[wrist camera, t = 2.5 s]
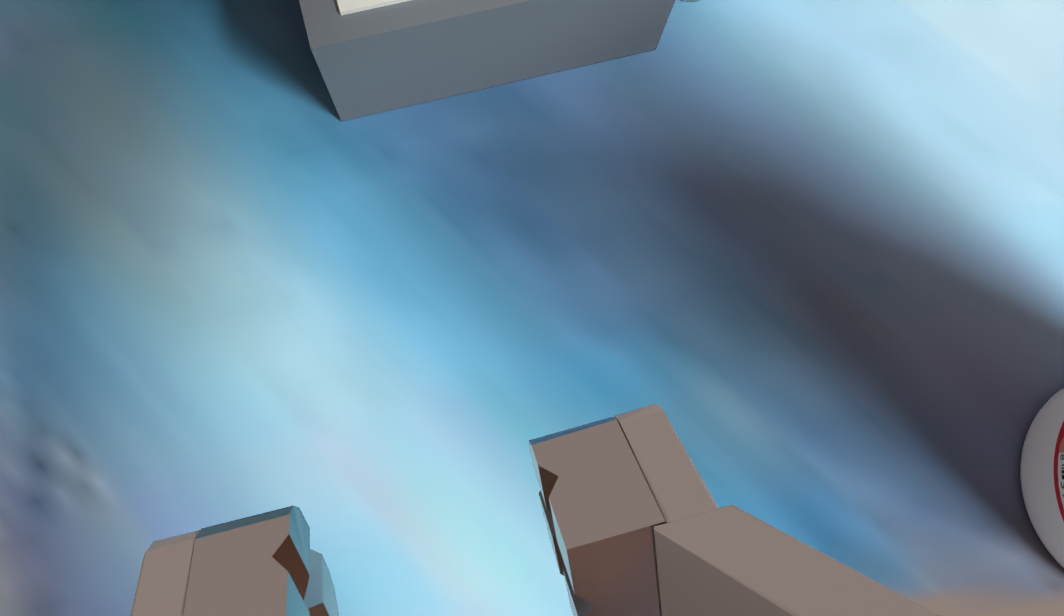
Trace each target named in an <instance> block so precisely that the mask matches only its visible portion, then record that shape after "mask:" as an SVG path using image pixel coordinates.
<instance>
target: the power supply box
mask: <svg viewBox="0 0 1064 616" xmlns="http://www.w3.org/2000/svg"><path fill="white" fill-rule="evenodd" d="M682 1H686V2H696V1H700V0H682ZM299 2H300V7H301V11H302V15H303V19H304V23H305V27H306V31H307V35H308V40H309V44H310V48H311V51H312V53H313V55H314V58H315V60H316V62H317V65H318V67H319V69H320V72H321V74H322V77H323V79H324V81H325V84H326V86H327V88H328V91H329V93H330V96H331V98H332V100H333V103H334V105H335V107H336V110H337V112H338V114H339V117H340V119H341V121H346V120H350V119H354V118H359V117H363V116H367V115H372V114H376V113H380V112H385V111H389V110H394V109H398V108H402V107H407V106H411V105H415V104H420V103H424V102H428V101H433V100H437V99H442V98H446V97H450V96H455V95H459V94H463V93H468V92H472V91H476V90H481V89H485V88H489V87H494V86H498V85H503V84H507V83H511V82H516V81H520V80H524V79H529V78H533V77H537V76H542V75H546V74H551V73H555V72H559V71H564V70H568V69H572V68H577V67H581V66H585V65H590V64H594V63H598V62H603V61H607V60H612V59H616V58H620V57H625V56H629V55H633V54H638V53H642V52H646V51H651V50H655V49H656V47H657V45H658V42H659V40H660V37H661V35H662V32H663V29H664V27H665V24H666V22H667V19H668V17H669V14H670V12H671V9H672V7H673V4H674V2H675V0H299Z"/></svg>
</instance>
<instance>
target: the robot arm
mask: <svg viewBox="0 0 1064 616" xmlns="http://www.w3.org/2000/svg"><path fill="white" fill-rule="evenodd" d="M529 447H530V453H531V458H532V463H533V467H534V470H535V474H536V477H537V480H538V483H539V486H540V492H539V496H540V500H541V504H542V509H543V513H544V517H545V521H546V525H547V530H548V534H549V538H550V541H551V544H552V548H553V551H554V554H555V558H556V561H557V564H558V567H559V571H560V574H562V575H563V576H564V577H565V582H566V587H567V591H568V596H569V601H570V605H571V609H572V612H573V615H574V616H940V615H938V614H936V613H934V612H932V611H930V610H928V609H927V608H925V607H923V606H921V605H919V604H917V603H915V602H914V601H912V600H910V599H908V598H906V597H904V596H902V595H900V594H899V593H897V592H895V591H893V590H891V589H889V588H887V587H885V586H884V585H882V584H880V583H878V582H876V581H874V580H872V579H870V578H869V577H867V576H865V575H863V574H861V573H859V572H857V571H856V570H854V569H852V568H850V567H848V566H846V565H844V564H842V563H841V562H839V561H837V560H835V559H833V558H831V557H829V556H827V555H826V554H824V553H822V552H820V551H818V550H816V549H814V548H813V547H811V546H809V545H807V544H805V543H803V542H801V541H799V540H798V539H796V538H794V537H792V536H790V535H788V534H786V533H784V532H783V531H781V530H779V529H777V528H775V527H773V526H771V525H769V524H768V523H766V522H764V521H762V520H760V519H758V518H756V517H755V516H753V515H751V514H749V513H747V512H745V511H743V510H741V509H740V508H738V507H736V506H734V505H729V506H725V507H721V508H719V507H718V506H717V504H716V502H715V500H714V498H713V497H712V495H711V493H710V491H709V490H708V488H707V486H706V484H705V483H704V481H703V479H702V477H701V476H700V474H699V472H698V470H697V469H696V467H695V465H694V463H693V462H692V460H691V458H690V456H689V454H688V453H687V451H686V449H685V447H684V446H683V444H682V442H681V440H680V439H679V437H678V435H677V433H676V432H675V430H674V428H673V426H672V425H671V423H670V421H669V419H668V418H667V416H666V414H665V412H664V410H663V409H662V408H661V407H659V406H658V405H656V404H654V405H650V406H647V407H643V408H640V409H637V410H633V411H630V412H626V413H623V414H619V415H616V416H614V418H612V417H610V418H606V419H603V420H599V421H596V422H592V423H589V424H585V425H582V426H578V427H575V428H571V429H568V430H564V431H561V432H557V433H554V434H550V435H546V436H543V437H539V438H536V439H532V440H529ZM131 616H339V612H338V606H337V600H336V595H335V589H334V585H333V582H332V579H331V575H330V572H329V569H328V567H327V564H326V562H325V560H324V558H323V556H322V554H320V553H318V552H316V551H314V550H312V549H310V528H309V526H308V524H307V522H306V520H305V518H304V516H303V514H302V512H301V510H300V508H299V507H296V506H290V507H286V508H282V509H278V510H274V511H270V512H266V513H262V514H258V515H254V516H250V517H246V518H242V519H238V520H234V521H230V522H226V523H222V524H218V525H214V526H210V527H206V528H202V529H201V530H199V531H194V532H190V533H186V534H182V535H178V536H174V537H170V538H166V539H162V540H157V541H153V543H152V544H151V546H150V547H149V548H148V550H147V551H146V553H145V555H144V558H143V562H142V567H141V571H140V576H139V580H138V585H137V589H136V594H135V598H134V603H133V607H132V612H131Z"/></svg>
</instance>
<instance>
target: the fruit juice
mask: <svg viewBox="0 0 1064 616" xmlns="http://www.w3.org/2000/svg"><path fill="white" fill-rule="evenodd" d="M1020 477H1021V488H1022V494H1023V499H1024V503H1025V506H1026V510H1027V512H1028V515H1029V518H1030V520H1031V523H1032V525H1033V527H1034V529H1035V531H1036V533H1037V535H1038V536H1039V538H1040V540H1041V541H1042V543H1043V544H1044V546H1045V547H1046V548H1047V550H1048V551H1049V552H1050V554H1051V555H1052V556H1053V557H1054V558H1055V560H1056V561H1057V562H1058V563H1059V564H1060V565H1061V566H1062V567H1063V568H1064V388H1062V389H1061V390H1059V391H1058V392H1057V393H1056V394H1054V395H1053V396H1052V397H1051V398H1050V399H1049V400H1048V401H1047V402H1046V403H1045V404H1044V405H1043V407H1042V408H1041V409H1040V411H1039V412H1038V413H1037V415H1036V416H1035V418H1034V420H1033V422H1032V423H1031V425H1030V428H1029V430H1028V432H1027V435H1026V438H1025V441H1024V445H1023V449H1022V455H1021V465H1020Z"/></svg>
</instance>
